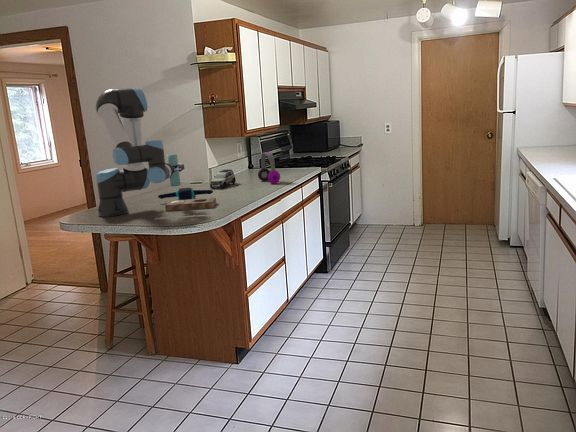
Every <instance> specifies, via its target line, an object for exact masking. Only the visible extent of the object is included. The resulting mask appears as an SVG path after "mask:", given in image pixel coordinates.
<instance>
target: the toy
mask: <svg viewBox="0 0 576 432" xmlns="http://www.w3.org/2000/svg"><path fill="white" fill-rule="evenodd" d="M213 193H214V190H213V189H193V188H192V187H181V188H178V190H176V191H174V192H167V193H163V194H159V195H158V196H157V197H158V199H160V200H161V199H167V198H168V199H169V198H177V200H189V199H195V198H194V196H198V195H211V194H213Z"/></svg>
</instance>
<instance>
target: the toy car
mask: <svg viewBox="0 0 576 432" xmlns="http://www.w3.org/2000/svg"><path fill="white" fill-rule="evenodd" d="M234 173H235V172H234V171H233V169H229V168H227V169H222V170H220V171H218V172H217V173H216V175H213V179H211V180H210V183H209V188H210V189H215V188H222V189H226V188H227V186H228V185H230V184H232V185H235V184H236V175H235V174H234Z"/></svg>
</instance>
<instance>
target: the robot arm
mask: <svg viewBox="0 0 576 432" xmlns="http://www.w3.org/2000/svg"><path fill="white" fill-rule="evenodd" d="M146 97H147V96H146V95H145V92H144V90H142V89H141V88H139V87H138V88H137V87H136V88H133V87H130V88H129V87H128V88H127V87H126V88H116V89H114V88H111V89H107V90H105V91H103V92H102V93H101V94H100V95H99V96H98V98H97V100H96V104H95V111H96V113H97V116H98V118H99V119H100V120H102V122H103V125H104V126H105V130H106V131H107V134H108V135H109V138H110V141H111V143H112V145H113V147H114V148H113V149H112V159H113V162H114V163H115V165H117V166H122V169H119V168H118V167H113V168H107V169H104V170H100V171H98V172H97V173H96V174H95V179H96V181H95V183H96V186H97V191H98V192H97V193H98V198H99V203H98V207H97V208H98V209H97V214H98V215H97V216H98V217H103V218H108V217H115V216H116V217H117V216H121V215H124V214H127V213H129V207H128V205H127V203H126V201H125V198H124V197H123V193H127V192H132V191H142V190H145V189H147V188H148V187H149V186H150V182H151V183H153V184H160V183H163V182H165V181H166V180H168V179H170V177H171V176H172V175H173V173H174V172H175V171H177V170H178V171H179V173H180V172H182V171H184V170H185V164H183V163H182V162H178V164H177V165H176V166H174V165H172V166H171V165H170V164H168V162H166V160H165V159H166V158H165V149H164V144H163V141H162V140H161V139H150V140H145V144H143V136H142V118H144V117H145V116H144V113H146V112H148V107H149V106H148V100H147V98H146ZM121 119H122V120H121ZM122 121H123V122H122ZM146 163H148V167H147V165H146Z"/></svg>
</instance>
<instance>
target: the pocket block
mask: <svg viewBox="0 0 576 432" xmlns="http://www.w3.org/2000/svg"><path fill="white" fill-rule="evenodd" d="M216 204H217V197H207V198H206V197H205V198H194V199H189V200H178V199H176V200H170V201H168V202H167V203H166V204H165V205H164V207H165V211H166V212H171V211H185V210H198V209H200V210H201V209H213V208H214V207H215V205H216Z"/></svg>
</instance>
